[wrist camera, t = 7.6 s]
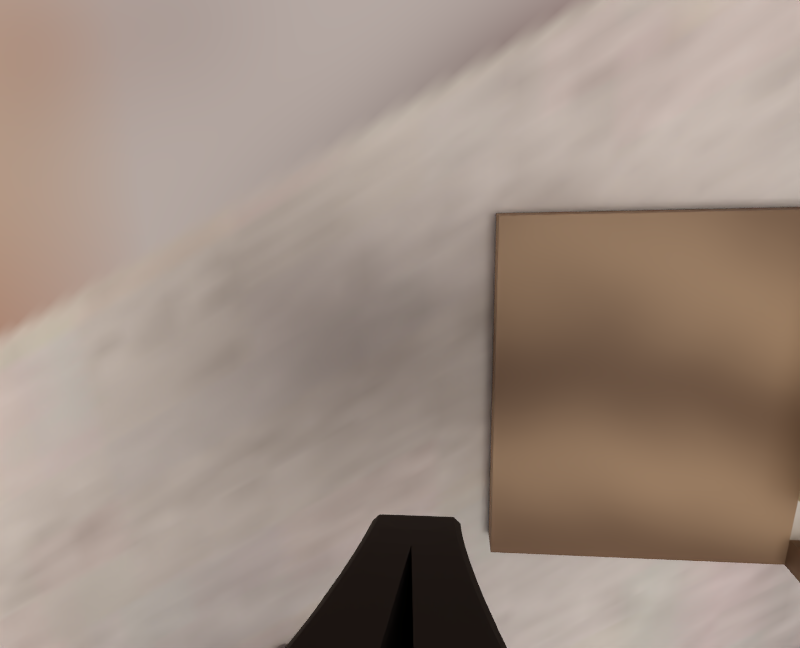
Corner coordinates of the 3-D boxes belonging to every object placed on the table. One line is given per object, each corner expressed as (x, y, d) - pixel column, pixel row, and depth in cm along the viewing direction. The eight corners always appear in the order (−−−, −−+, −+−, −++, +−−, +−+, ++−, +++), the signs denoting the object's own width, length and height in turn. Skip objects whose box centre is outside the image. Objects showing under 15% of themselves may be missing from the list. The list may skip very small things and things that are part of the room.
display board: (1012, 554, 18) (1140, 641, 15) (488, 533, 20) (496, 606, 16) (1138, 200, 15) (1342, 207, 11) (496, 213, 16) (508, 222, 13)
